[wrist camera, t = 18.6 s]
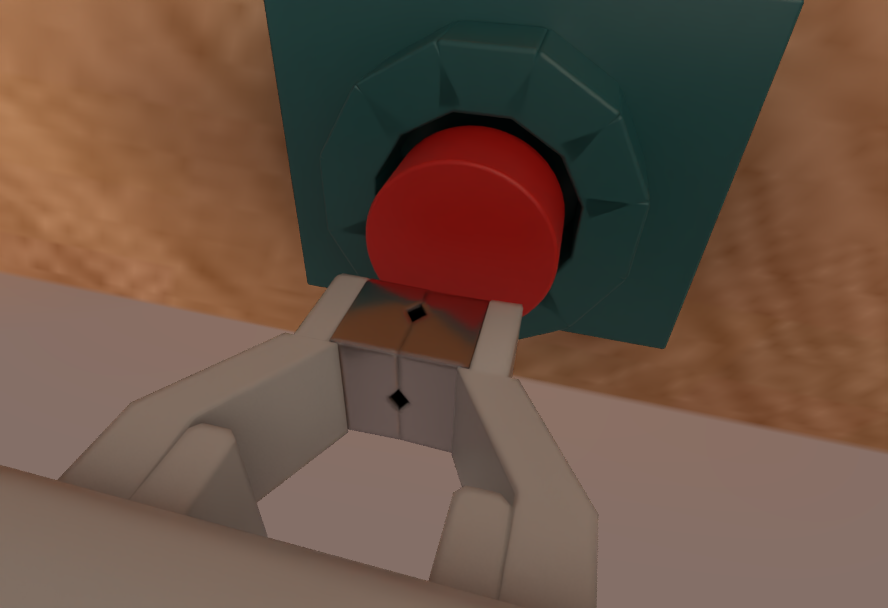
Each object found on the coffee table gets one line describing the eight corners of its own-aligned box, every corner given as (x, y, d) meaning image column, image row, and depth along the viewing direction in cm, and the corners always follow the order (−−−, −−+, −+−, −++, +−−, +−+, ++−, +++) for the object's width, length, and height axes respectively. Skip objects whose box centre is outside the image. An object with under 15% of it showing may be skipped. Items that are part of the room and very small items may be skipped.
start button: (581, 136, 10) (576, 176, 8) (549, 294, 12) (541, 346, 10) (390, 112, 10) (358, 147, 9) (395, 268, 12) (369, 313, 11)
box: (775, -20, 10) (843, 19, 7) (659, 300, 15) (670, 402, 12) (304, -52, 12) (202, -32, 9) (336, 245, 17) (276, 324, 14)
